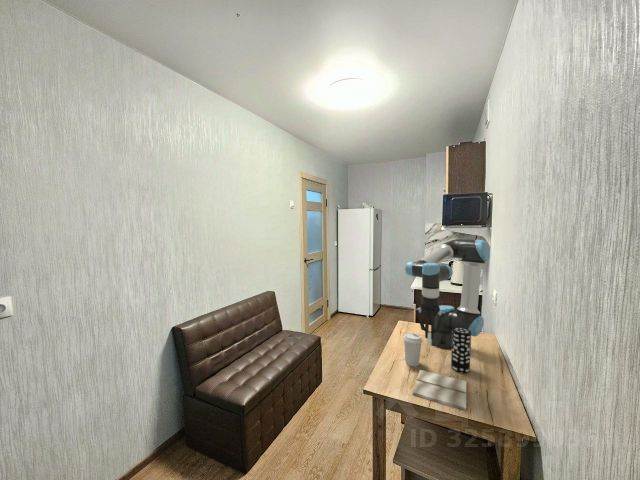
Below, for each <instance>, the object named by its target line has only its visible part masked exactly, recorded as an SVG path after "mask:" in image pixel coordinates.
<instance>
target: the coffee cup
mask: <svg viewBox="0 0 640 480" xmlns="http://www.w3.org/2000/svg"><path fill="white" fill-rule="evenodd" d="M402 340H403V342H404V357H405V359H404V360H405V364H406V365H408V366H409V367H418V366H419V365H420V358H421V357H420V356H421V349H422V343H423V342H424V341H423V338H422V336H421V335H420V334H418V333H415V332H407V333H405V334H404V335H403V339H402Z"/></svg>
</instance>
